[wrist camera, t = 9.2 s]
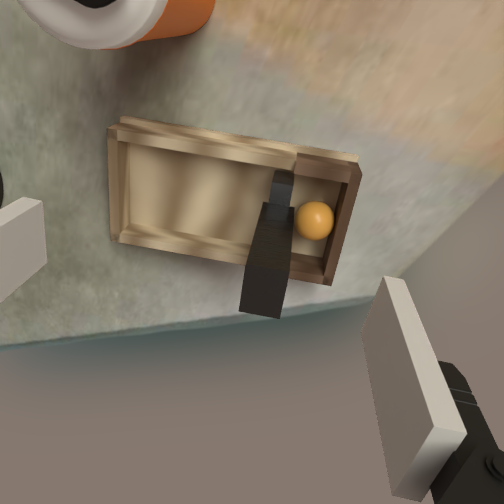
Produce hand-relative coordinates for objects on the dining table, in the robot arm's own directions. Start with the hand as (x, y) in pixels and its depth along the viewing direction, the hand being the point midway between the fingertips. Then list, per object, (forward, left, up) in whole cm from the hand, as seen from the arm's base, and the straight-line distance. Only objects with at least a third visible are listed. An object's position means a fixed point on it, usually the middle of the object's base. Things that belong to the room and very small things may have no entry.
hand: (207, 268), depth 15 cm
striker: (+2, -8, -26) cm, 27 cm away
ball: (+6, -8, -25) cm, 27 cm away
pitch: (-3, -8, -28) cm, 29 cm away
